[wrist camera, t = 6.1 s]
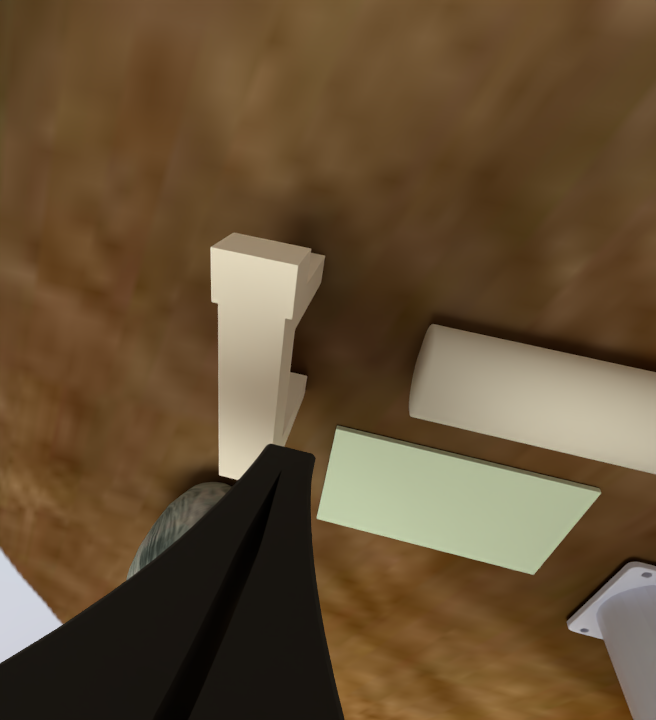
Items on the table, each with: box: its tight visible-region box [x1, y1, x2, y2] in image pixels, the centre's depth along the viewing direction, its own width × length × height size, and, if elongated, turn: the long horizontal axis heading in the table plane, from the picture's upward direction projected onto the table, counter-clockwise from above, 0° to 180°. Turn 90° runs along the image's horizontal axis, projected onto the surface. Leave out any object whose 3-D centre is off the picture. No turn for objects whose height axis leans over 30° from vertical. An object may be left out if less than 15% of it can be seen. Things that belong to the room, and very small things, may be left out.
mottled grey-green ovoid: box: [126, 482, 232, 581], centre depth 25 cm, size 14×10×10 cm
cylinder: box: [409, 324, 656, 474], centre depth 16 cm, size 10×4×4 cm, turn 81°
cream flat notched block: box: [211, 233, 325, 480], centre depth 15 cm, size 2×9×6 cm, turn 171°
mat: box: [317, 425, 601, 575], centre depth 23 cm, size 14×8×1 cm, turn 81°
